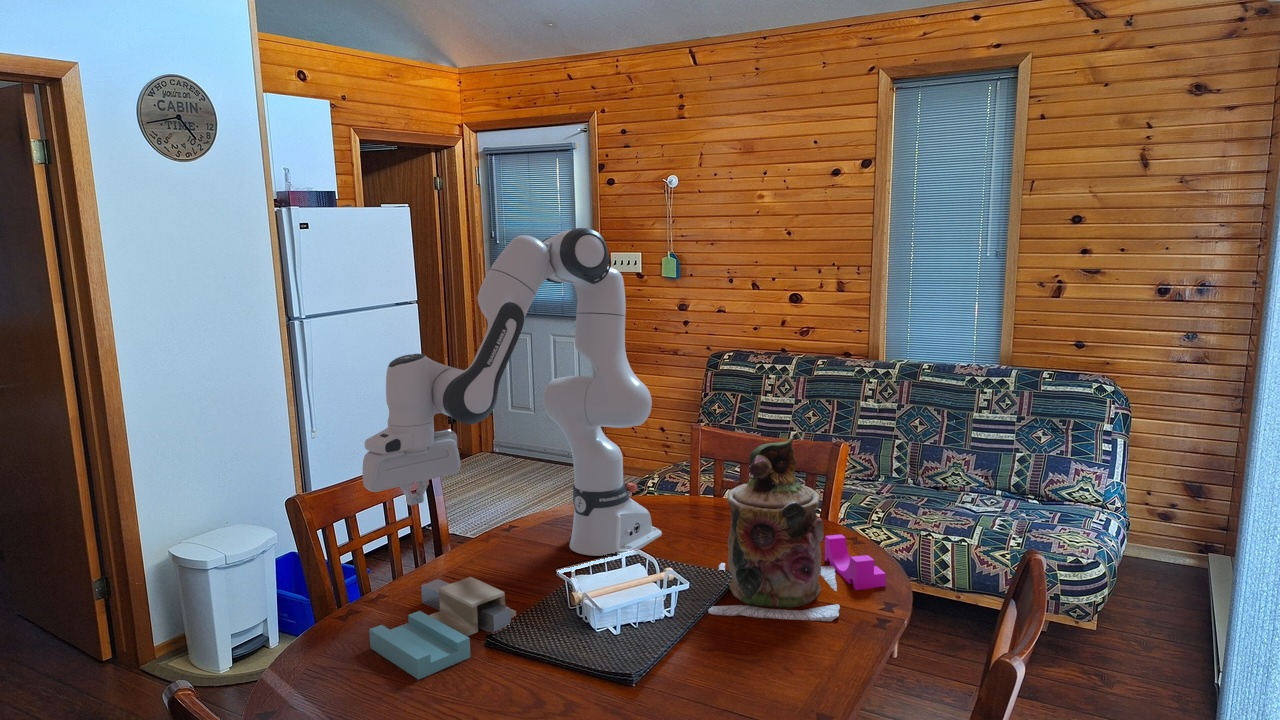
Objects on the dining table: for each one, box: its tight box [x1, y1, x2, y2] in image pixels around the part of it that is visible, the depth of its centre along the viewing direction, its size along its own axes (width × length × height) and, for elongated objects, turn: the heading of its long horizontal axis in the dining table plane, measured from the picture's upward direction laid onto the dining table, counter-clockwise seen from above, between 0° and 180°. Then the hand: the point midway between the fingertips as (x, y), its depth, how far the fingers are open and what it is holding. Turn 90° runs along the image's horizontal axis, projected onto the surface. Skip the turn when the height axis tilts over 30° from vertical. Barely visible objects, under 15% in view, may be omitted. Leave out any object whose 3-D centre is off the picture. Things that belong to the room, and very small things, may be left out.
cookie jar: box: [707, 436, 841, 622], centre depth 162 cm, size 25×25×32 cm
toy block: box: [824, 533, 887, 591], centre depth 169 cm, size 15×6×8 cm, turn 11°
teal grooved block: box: [368, 610, 471, 681], centre depth 143 cm, size 10×16×4 cm, turn 46°
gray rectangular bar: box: [420, 578, 512, 633], centre depth 158 cm, size 4×22×4 cm, turn 50°
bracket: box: [428, 576, 517, 637], centre depth 156 cm, size 12×11×6 cm
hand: (415, 503), depth 167 cm, fingers closed
